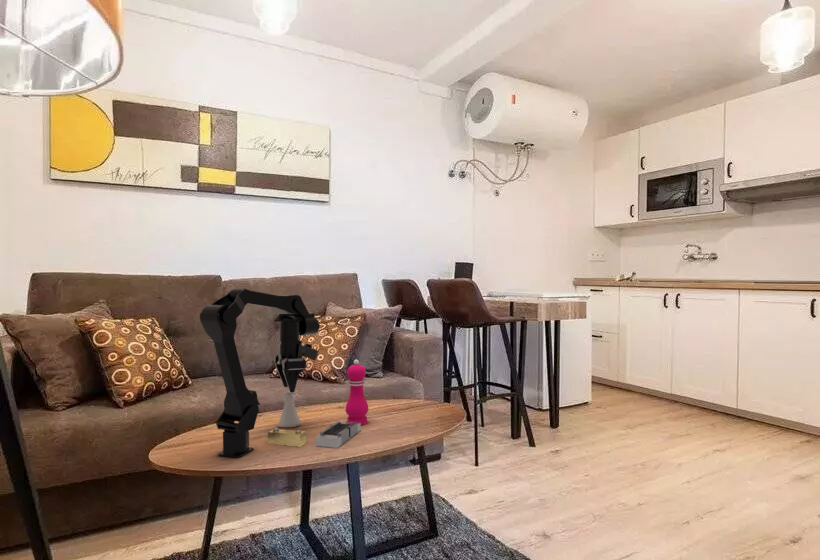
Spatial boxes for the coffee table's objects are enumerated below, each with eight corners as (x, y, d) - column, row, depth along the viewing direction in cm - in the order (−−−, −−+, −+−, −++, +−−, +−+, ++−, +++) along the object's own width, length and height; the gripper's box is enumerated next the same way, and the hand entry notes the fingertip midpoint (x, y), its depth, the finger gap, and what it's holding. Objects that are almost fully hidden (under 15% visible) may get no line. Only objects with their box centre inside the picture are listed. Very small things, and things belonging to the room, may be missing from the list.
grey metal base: (337, 448, 125) (337, 436, 125) (315, 446, 127) (315, 434, 127) (360, 430, 140) (360, 420, 140) (341, 428, 142) (341, 419, 142)
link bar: (305, 444, 129) (305, 429, 129) (300, 447, 127) (300, 432, 127) (274, 441, 132) (274, 426, 132) (268, 444, 129) (268, 429, 130)
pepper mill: (365, 418, 153) (364, 357, 153) (371, 424, 146) (370, 360, 147) (343, 421, 150) (342, 358, 151) (348, 427, 144) (347, 361, 144)
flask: (304, 421, 151) (304, 390, 151) (296, 428, 143) (296, 395, 144) (282, 421, 151) (282, 390, 151) (273, 428, 144) (273, 395, 144)
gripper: (324, 338, 135) (324, 392, 134) (308, 333, 152) (308, 382, 151) (284, 339, 130) (284, 396, 130) (273, 335, 147) (273, 385, 146)
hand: (289, 389), depth 139 cm, fingers open, 9 cm apart
